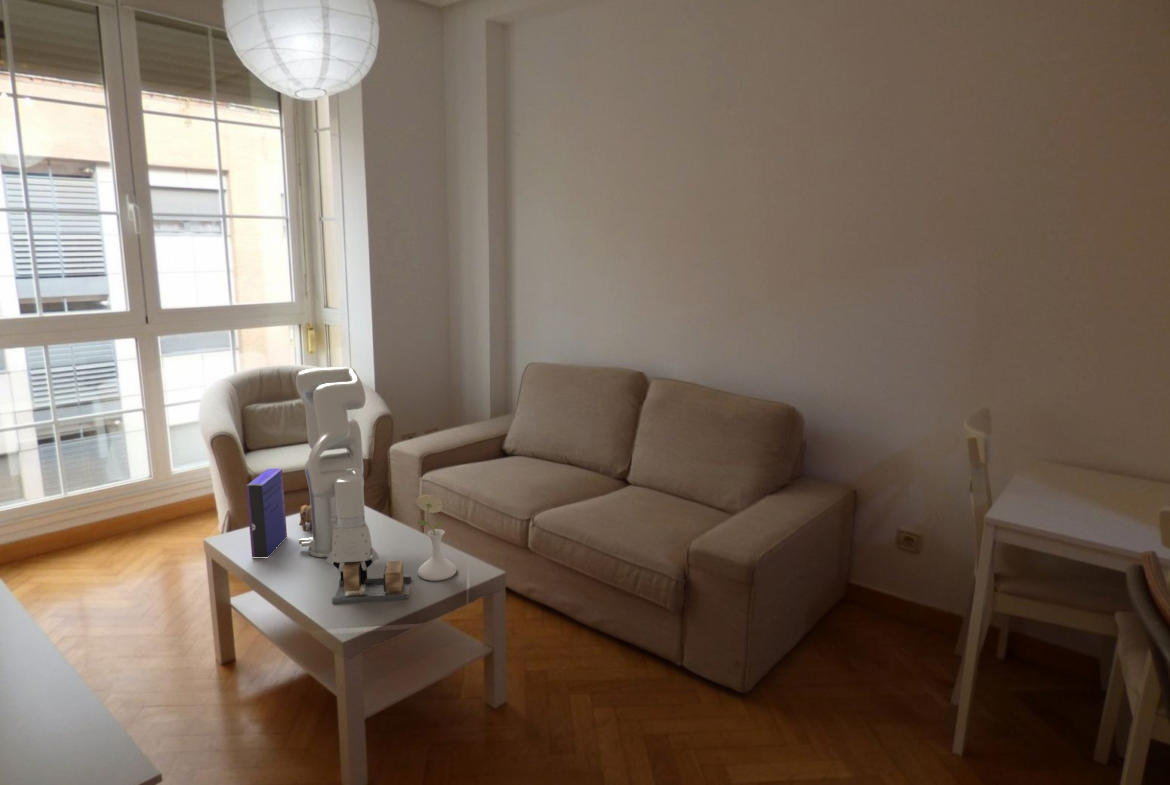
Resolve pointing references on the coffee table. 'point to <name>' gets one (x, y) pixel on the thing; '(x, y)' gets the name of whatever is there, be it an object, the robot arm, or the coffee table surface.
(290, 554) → the coffee table surface
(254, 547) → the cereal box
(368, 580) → the gray tray
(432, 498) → the flower in vase
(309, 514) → the lion figurine
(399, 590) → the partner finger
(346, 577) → the block
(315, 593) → the coffee table surface
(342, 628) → the coffee table surface
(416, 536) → the coffee table surface
